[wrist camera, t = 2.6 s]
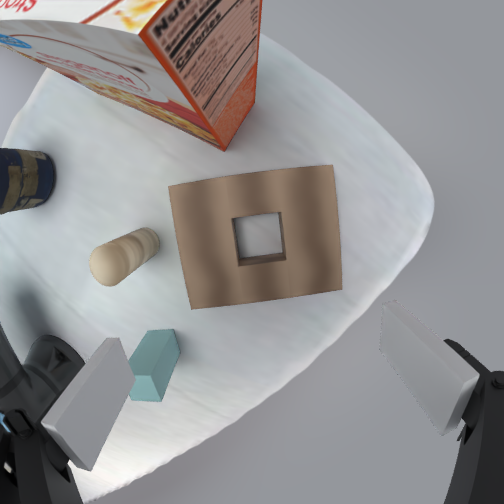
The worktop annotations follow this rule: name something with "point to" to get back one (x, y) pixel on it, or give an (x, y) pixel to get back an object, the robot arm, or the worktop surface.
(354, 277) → the worktop surface
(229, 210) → the socket block
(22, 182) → the canister
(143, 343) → the square peg
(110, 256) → the round dowel
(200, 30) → the pasta box
